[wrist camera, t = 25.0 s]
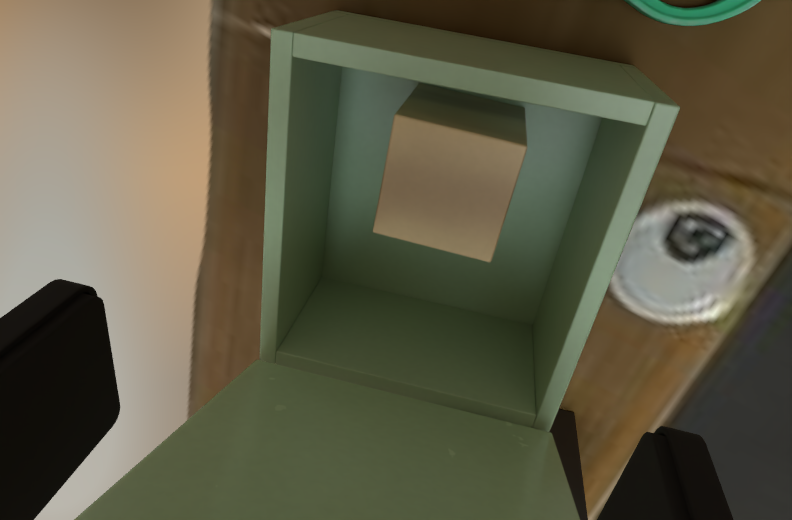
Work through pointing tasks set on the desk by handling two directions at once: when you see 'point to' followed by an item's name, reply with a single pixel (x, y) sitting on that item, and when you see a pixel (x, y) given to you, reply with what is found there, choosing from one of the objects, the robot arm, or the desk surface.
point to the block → (451, 171)
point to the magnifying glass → (691, 11)
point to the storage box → (432, 268)
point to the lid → (339, 459)
